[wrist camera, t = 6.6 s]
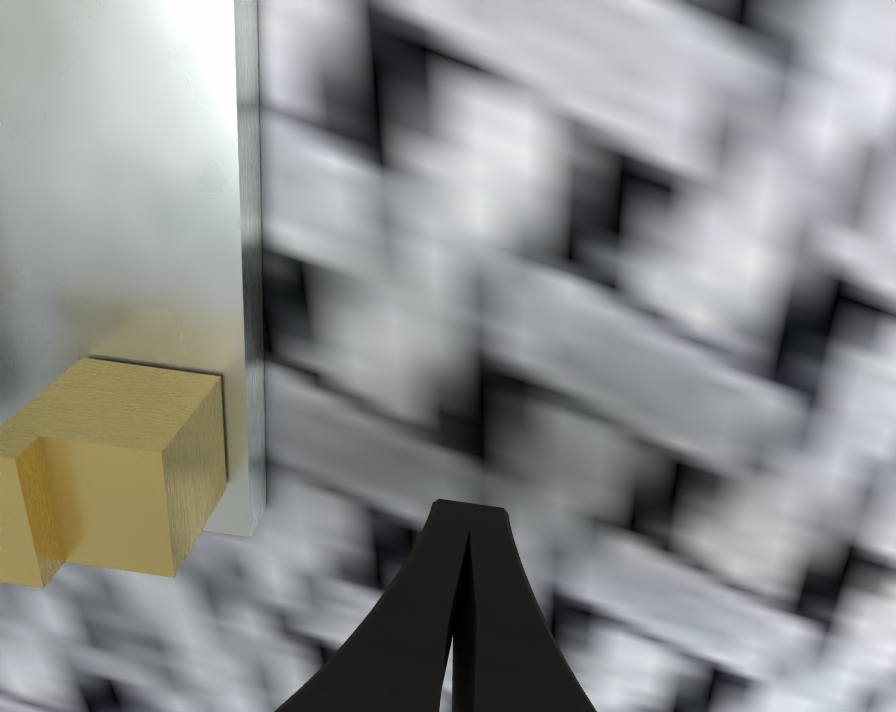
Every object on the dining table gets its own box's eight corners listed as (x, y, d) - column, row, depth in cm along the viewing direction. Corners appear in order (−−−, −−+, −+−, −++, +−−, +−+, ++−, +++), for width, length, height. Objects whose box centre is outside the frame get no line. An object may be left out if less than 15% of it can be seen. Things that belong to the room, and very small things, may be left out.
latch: (226, 488, 16) (157, 605, 13) (-1, 456, 16) (-122, 564, 13) (220, 376, 15) (142, 477, 12) (-28, 342, 15) (-170, 433, 12)
